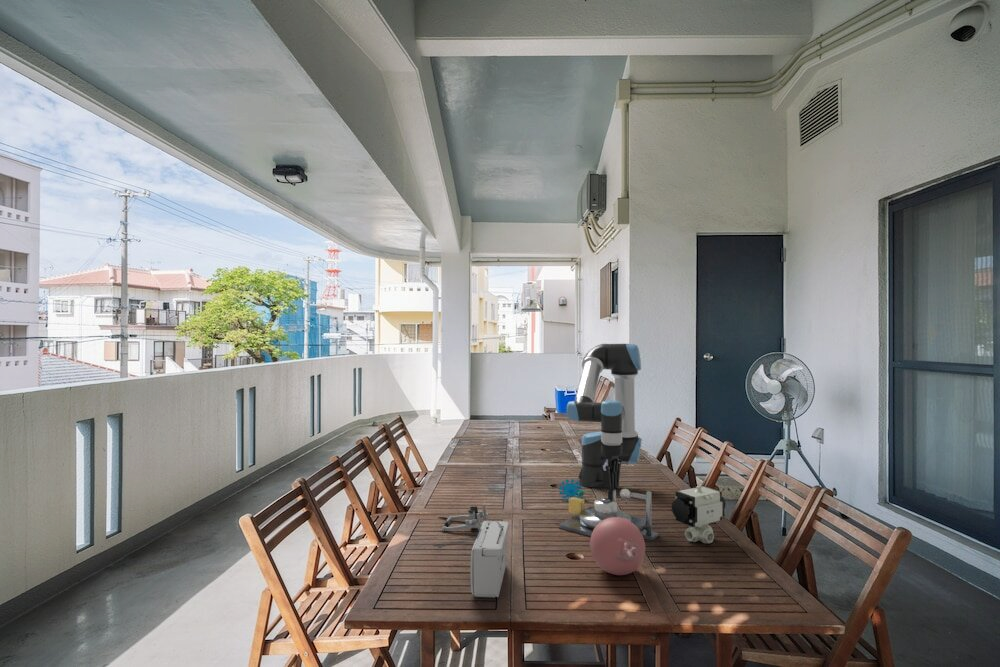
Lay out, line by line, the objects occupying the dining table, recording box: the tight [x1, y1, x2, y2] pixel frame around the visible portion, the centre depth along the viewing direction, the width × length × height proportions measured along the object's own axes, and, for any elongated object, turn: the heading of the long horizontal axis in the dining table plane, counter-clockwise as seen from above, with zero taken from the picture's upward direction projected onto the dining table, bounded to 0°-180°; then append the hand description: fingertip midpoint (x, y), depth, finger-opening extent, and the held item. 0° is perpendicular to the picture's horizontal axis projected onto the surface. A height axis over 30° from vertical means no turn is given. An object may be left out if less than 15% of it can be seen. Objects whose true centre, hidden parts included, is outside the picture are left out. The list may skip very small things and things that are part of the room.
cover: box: [593, 497, 618, 520], centre depth 182 cm, size 8×8×6 cm
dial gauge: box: [619, 488, 659, 541], centre depth 174 cm, size 5×12×15 cm, turn 53°
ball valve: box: [671, 485, 726, 544], centre depth 168 cm, size 18×8×18 cm, turn 117°
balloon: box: [589, 517, 646, 576], centre depth 143 cm, size 15×20×15 cm
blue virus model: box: [558, 478, 586, 502], centre depth 213 cm, size 11×6×10 cm
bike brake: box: [437, 503, 490, 532], centre depth 180 cm, size 14×7×20 cm
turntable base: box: [558, 506, 646, 537], centre depth 181 cm, size 24×24×1 cm
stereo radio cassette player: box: [470, 519, 510, 598], centre depth 140 cm, size 21×8×20 cm, turn 173°
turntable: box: [568, 496, 631, 529], centre depth 183 cm, size 18×23×6 cm
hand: (611, 507), depth 185 cm, fingers closed
